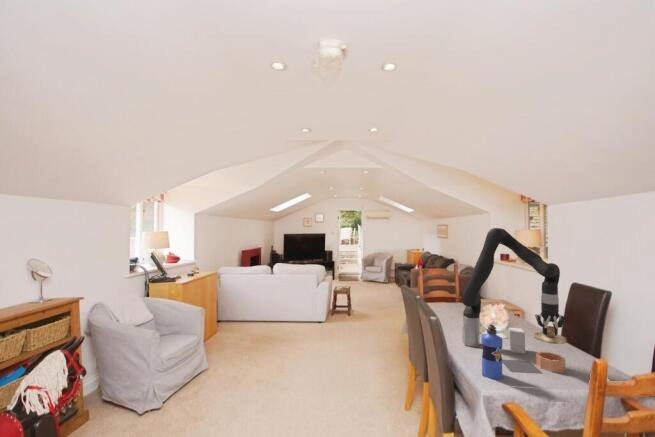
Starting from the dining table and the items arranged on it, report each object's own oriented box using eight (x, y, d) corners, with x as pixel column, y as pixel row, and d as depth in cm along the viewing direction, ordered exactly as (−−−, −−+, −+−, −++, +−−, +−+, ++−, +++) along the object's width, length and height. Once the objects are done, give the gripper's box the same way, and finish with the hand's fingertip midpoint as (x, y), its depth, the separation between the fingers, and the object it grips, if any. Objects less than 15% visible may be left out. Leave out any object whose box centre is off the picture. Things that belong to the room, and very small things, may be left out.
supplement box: (522, 349, 195) (522, 328, 196) (525, 354, 188) (525, 332, 188) (508, 348, 198) (508, 327, 198) (510, 352, 191) (510, 331, 191)
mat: (510, 372, 166) (510, 371, 166) (499, 360, 181) (499, 359, 181) (543, 374, 164) (543, 373, 164) (529, 361, 179) (529, 360, 179)
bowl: (544, 372, 166) (543, 360, 166) (532, 362, 178) (532, 351, 178) (569, 373, 165) (569, 361, 165) (556, 363, 176) (556, 352, 176)
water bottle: (477, 373, 165) (477, 323, 166) (490, 370, 169) (490, 321, 169) (493, 381, 157) (493, 329, 157) (507, 378, 161) (506, 326, 161)
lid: (542, 343, 165) (542, 331, 165) (529, 333, 179) (529, 322, 179) (573, 344, 163) (572, 332, 163) (557, 334, 177) (557, 323, 177)
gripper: (538, 303, 169) (538, 337, 169) (569, 304, 167) (569, 338, 167) (531, 299, 176) (532, 332, 176) (560, 300, 174) (560, 333, 174)
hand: (550, 334), depth 171 cm, fingers closed on lid, 4 cm apart
